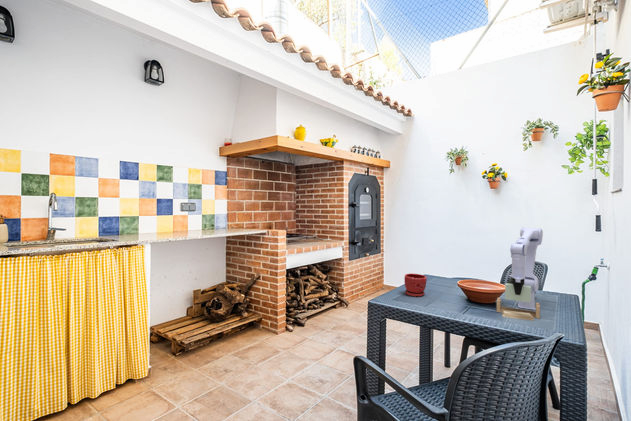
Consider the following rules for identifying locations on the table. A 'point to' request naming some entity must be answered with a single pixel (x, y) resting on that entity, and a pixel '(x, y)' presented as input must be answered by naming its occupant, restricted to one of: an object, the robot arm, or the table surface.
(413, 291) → the plant pot
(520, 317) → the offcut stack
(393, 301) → the table surface
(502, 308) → the oak rack
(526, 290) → the green sheet
